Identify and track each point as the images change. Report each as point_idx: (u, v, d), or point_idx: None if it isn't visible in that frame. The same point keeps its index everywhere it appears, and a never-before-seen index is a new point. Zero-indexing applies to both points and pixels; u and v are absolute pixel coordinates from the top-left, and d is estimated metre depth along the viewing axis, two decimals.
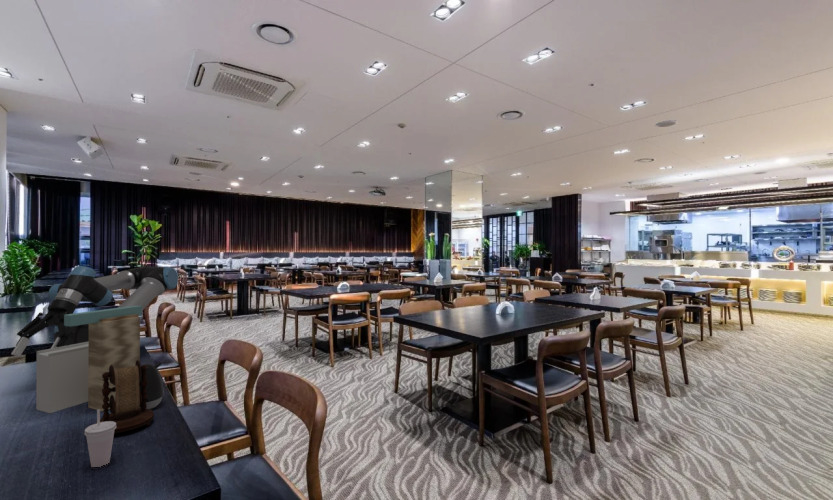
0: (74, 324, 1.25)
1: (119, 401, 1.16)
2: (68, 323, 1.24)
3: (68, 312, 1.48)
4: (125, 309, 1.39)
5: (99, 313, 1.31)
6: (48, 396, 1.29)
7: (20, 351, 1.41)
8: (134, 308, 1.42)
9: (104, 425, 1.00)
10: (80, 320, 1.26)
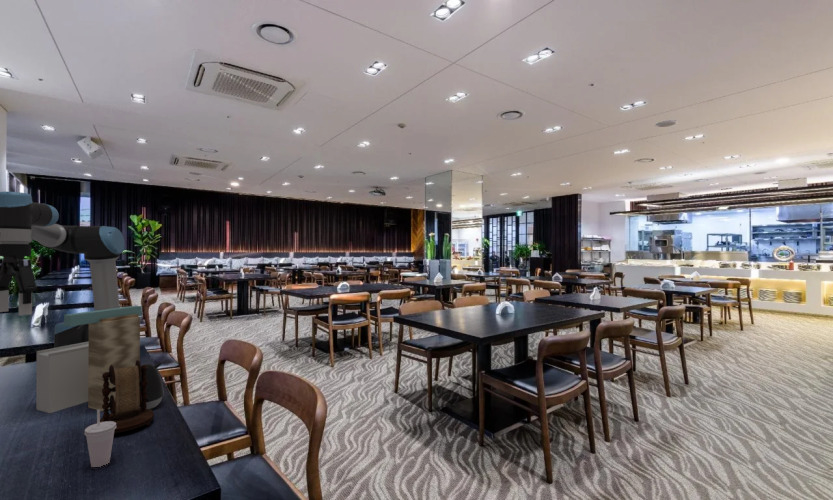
0: (74, 324, 1.25)
1: (119, 401, 1.16)
2: (68, 323, 1.24)
3: (19, 257, 1.16)
4: (125, 309, 1.39)
5: (99, 313, 1.31)
6: (48, 396, 1.29)
7: (5, 306, 1.20)
8: (134, 308, 1.42)
9: (104, 425, 1.00)
10: (80, 320, 1.26)
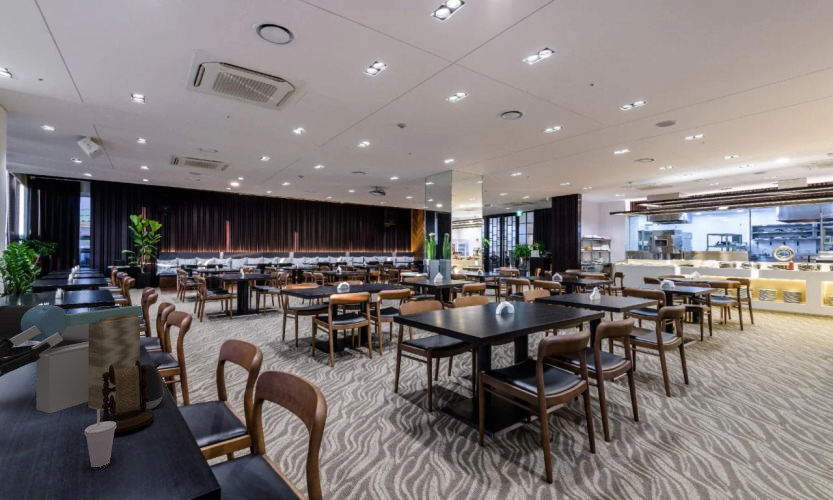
0: (74, 324, 1.25)
1: (119, 401, 1.16)
2: (68, 323, 1.24)
3: None
4: (125, 309, 1.39)
5: (99, 313, 1.31)
6: (48, 396, 1.29)
7: None
8: (134, 308, 1.42)
9: (104, 425, 1.00)
10: (80, 320, 1.26)
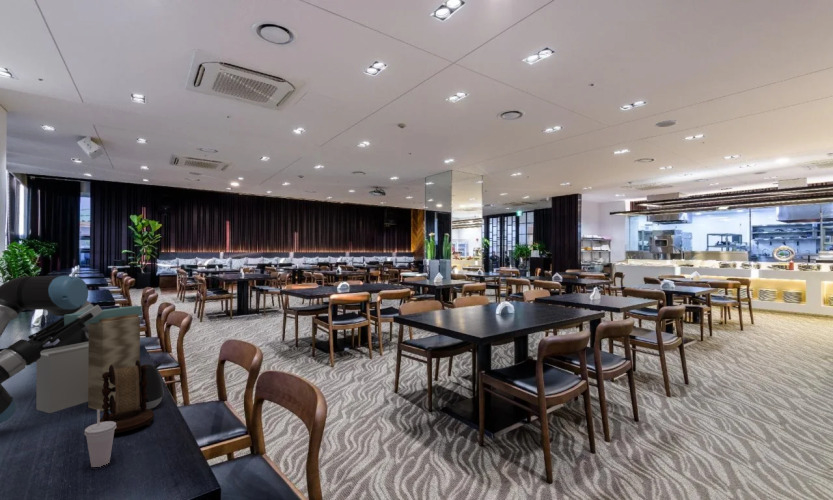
0: None
1: (119, 401, 1.16)
2: (68, 323, 1.24)
3: None
4: (125, 309, 1.39)
5: None
6: (48, 396, 1.29)
7: None
8: (134, 308, 1.42)
9: (104, 425, 1.00)
10: None
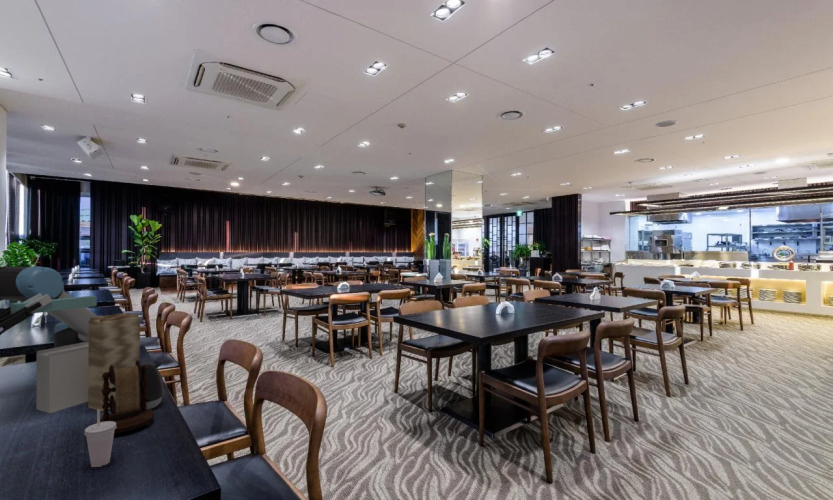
0: None
1: (119, 401, 1.16)
2: None
3: None
4: (78, 299, 1.37)
5: None
6: (48, 396, 1.29)
7: None
8: (88, 298, 1.40)
9: (104, 425, 1.00)
10: None
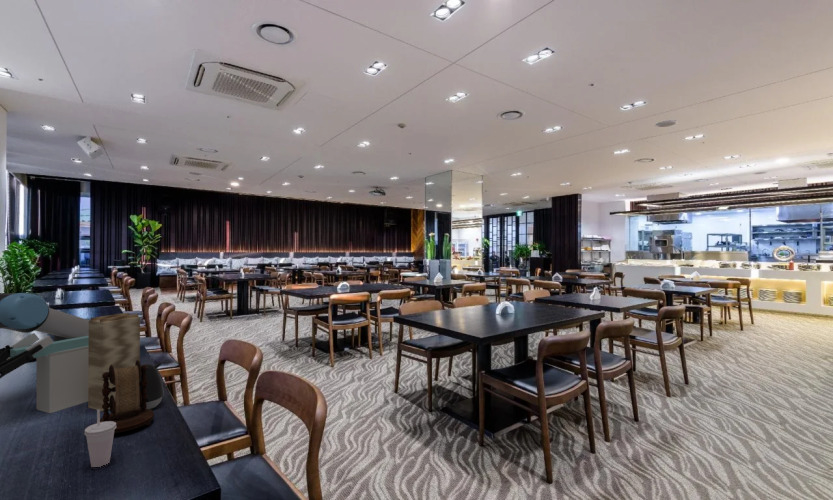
0: None
1: (119, 401, 1.16)
2: None
3: None
4: (77, 340, 1.38)
5: (48, 346, 1.30)
6: (48, 396, 1.29)
7: None
8: (87, 339, 1.40)
9: (104, 425, 1.00)
10: None
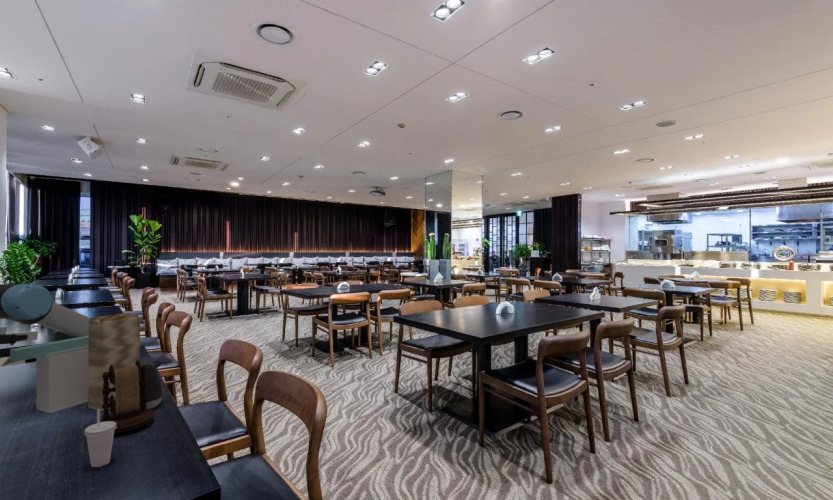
0: (20, 359, 1.23)
1: (119, 401, 1.16)
2: (14, 358, 1.23)
3: None
4: (77, 340, 1.38)
5: (48, 346, 1.30)
6: (48, 396, 1.29)
7: None
8: (87, 339, 1.40)
9: (104, 425, 1.00)
10: (27, 354, 1.25)
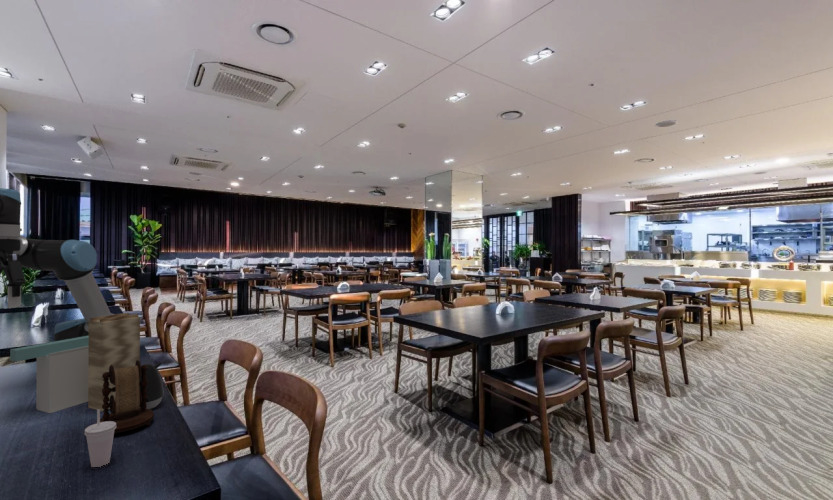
0: (20, 359, 1.23)
1: (119, 401, 1.16)
2: (14, 358, 1.23)
3: None
4: (77, 340, 1.38)
5: (48, 346, 1.30)
6: (48, 396, 1.29)
7: None
8: (87, 339, 1.40)
9: (104, 425, 1.00)
10: (27, 354, 1.25)
